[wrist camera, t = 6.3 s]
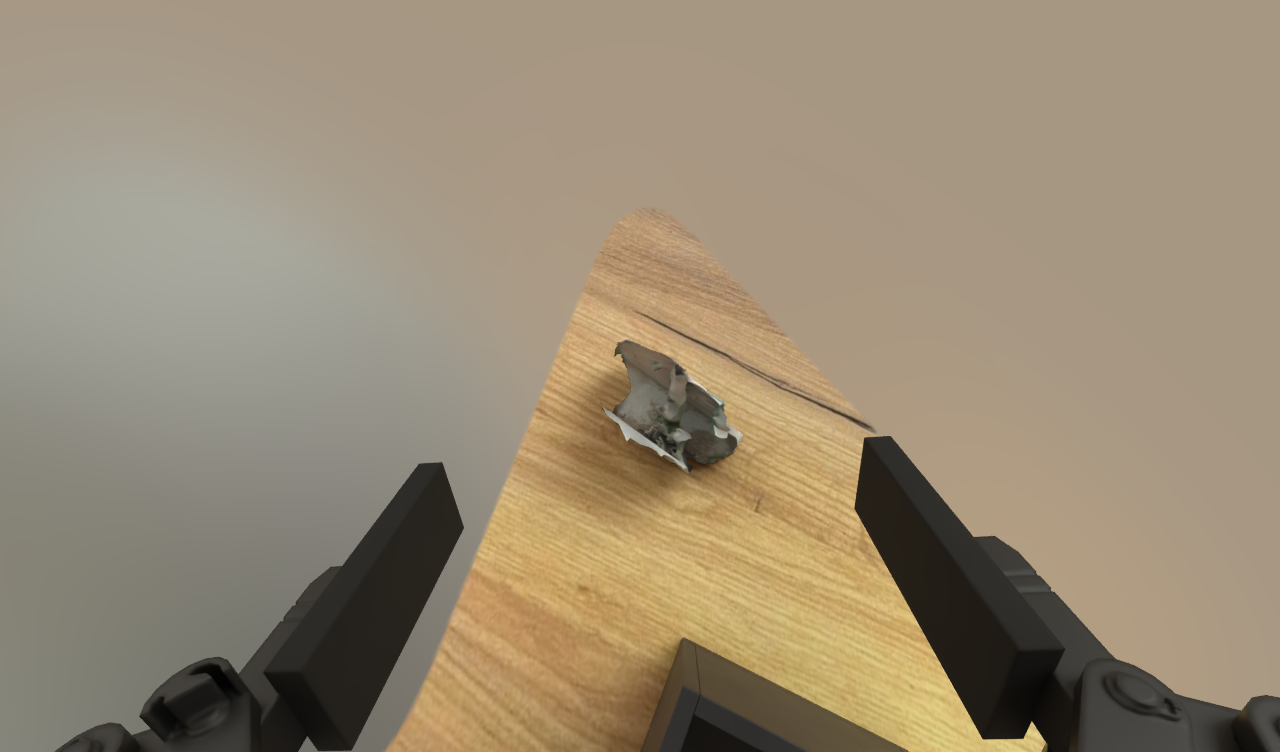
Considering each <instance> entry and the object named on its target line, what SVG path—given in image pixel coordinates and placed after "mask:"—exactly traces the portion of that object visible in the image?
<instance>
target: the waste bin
mask: <svg viewBox="0 0 1280 752" xmlns="http://www.w3.org/2000/svg"><path fill="white" fill-rule="evenodd" d="M641 752H908V751H907V750H906V749H904V748H902V747H900V746H898V745H896V744H894V743H892V742H890V741H888V740H886V739H884V738H882V737H880V736H878V735H876V734H874V733H872V732H870V731H868V730H866V729H864V728H862V727H860V726H858V725H856V724H854V723H852V722H850V721H848V720H846V719H844V718H842V717H840V716H838V715H836V714H834V713H832V712H830V711H828V710H826V709H824V708H822V707H820V706H818V705H817V704H815V703H813V702H811V701H809V700H807V699H805V698H803V697H801V696H799V695H797V694H795V693H793V692H791V691H789V690H787V689H785V688H783V687H781V686H779V685H777V684H775V683H773V682H771V681H769V680H767V679H765V678H763V677H761V676H759V675H757V674H755V673H753V672H751V671H749V670H747V669H745V668H743V667H741V666H739V665H737V664H735V663H733V662H731V661H729V660H727V659H725V658H723V657H721V656H720V655H718V654H716V653H714V652H712V651H710V650H708V649H706V648H704V647H702V646H700V645H698V644H696V643H694V642H692V641H690V640H688V639H686V638H682V641H681V643H680V646H679V649H678V652H677V654H676V657H675V660H674V662H673V665H672V668H671V671H670V673H669V676H668V679H667V681H666V684H665V687H664V690H663V692H662V695H661V698H660V700H659V703H658V706H657V709H656V711H655V714H654V717H653V720H652V722H651V725H650V728H649V730H648V733H647V736H646V739H645V741H644V744H643V747H642V749H641Z"/></svg>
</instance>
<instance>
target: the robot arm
mask: <svg viewBox="0 0 1280 752" xmlns="http://www.w3.org/2000/svg"><path fill="white" fill-rule="evenodd" d="M854 509H855V510H856V512H857V514H858V516H859V518H860V519H861V521H862V523H863V525H864V527H865V528H866V530H867V532H868V534H869V536H870V537H871V539H872V541H873V543H874V545H875V546H876V548H877V550H878V552H879V554H880V555H881V557H882V559H883V561H884V563H885V564H886V566H887V568H888V570H889V572H890V573H891V575H892V577H893V579H894V581H895V582H896V584H897V586H898V588H899V590H900V591H901V593H902V595H903V597H904V599H905V600H906V602H907V604H908V606H909V607H910V609H911V611H912V613H913V615H914V616H915V618H916V620H917V622H918V624H919V625H920V627H921V629H922V631H923V633H924V634H925V636H926V638H927V640H928V642H929V643H930V645H931V647H932V649H933V651H934V652H935V654H936V656H937V658H938V660H939V661H940V663H941V665H942V667H943V669H944V670H945V672H946V674H947V676H948V678H949V679H950V681H951V683H952V685H953V687H954V688H955V690H956V692H957V694H958V696H959V697H960V699H961V701H962V703H963V705H964V706H965V708H966V710H967V712H968V714H969V715H970V717H971V719H972V721H973V722H974V724H975V726H976V728H977V730H978V731H979V733H980V735H981V737H982V739H1023V738H1024V736H1025V734H1026V732H1027V730H1028V728H1029V726H1030V724H1031V721H1032V722H1033V723H1034V725H1035V726H1036V728H1037V729H1038V731H1039V732H1040V734H1041V735H1042V737H1043V739H1044V740H1045V742H1046V744H1045V746H1044V748H1043V750H1042V752H1280V698H1279V697H1273V696H1268V695H1265V696H1258V697H1253V698H1251V699H1250V701H1249V702H1248V703H1247V704H1246V706H1245V707H1244V708H1243V709H1242V711H1240V710H1236V709H1232V708H1228V707H1224V706H1220V705H1216V704H1212V703H1208V702H1204V701H1200V700H1196V699H1192V698H1187V697H1184V696H1181V695H1178V694H1175V693H1174V692H1173V691H1172V690H1171V689H1170V688H1168V687H1167V686H1166V685H1164V684H1163V683H1162V682H1161V681H1159V680H1158V679H1157V678H1156V677H1154V676H1153V675H1151V674H1149V673H1147V672H1145V671H1144V670H1142V669H1140V668H1138V667H1136V666H1134V665H1131V664H1129V663H1126V662H1123V661H1120V660H1117V659H1115V658H1114V657H1113V656H1112V655H1111V654H1110V653H1109V652H1108V651H1107V649H1106V648H1105V647H1104V646H1103V645H1102V644H1101V643H1100V642H1099V641H1098V640H1097V639H1096V637H1095V636H1094V635H1093V634H1092V633H1091V632H1090V631H1089V630H1088V628H1087V627H1086V626H1085V625H1084V624H1083V623H1082V622H1081V621H1080V620H1079V618H1078V617H1077V616H1076V615H1075V614H1074V613H1073V612H1072V611H1071V610H1070V608H1069V607H1068V606H1067V605H1066V604H1065V603H1064V602H1063V601H1062V600H1061V599H1060V598H1059V596H1058V595H1057V594H1056V593H1055V592H1052V591H1051V587H1049V585H1048V584H1047V583H1046V582H1045V581H1044V580H1043V579H1042V578H1041V577H1040V576H1038V575H1037V574H1036V571H1035V570H1034V569H1033V568H1032V567H1031V565H1030V564H1029V563H1028V562H1027V561H1026V560H1025V559H1024V558H1023V557H1022V555H1021V554H1020V553H1019V552H1018V551H1016V550H1015V549H1013V548H1011V547H1010V546H1009V545H1007V544H1006V543H1004V542H1003V541H1001V540H1000V539H998V538H997V537H995V536H988V537H973V536H972V534H971V533H970V532H969V531H968V529H967V528H966V527H965V526H964V525H963V523H962V522H961V521H960V520H959V519H958V517H957V516H956V515H955V514H954V512H953V511H952V510H951V509H950V508H949V506H948V505H947V504H946V503H945V502H944V500H943V499H942V498H941V497H940V495H939V494H938V493H937V492H936V491H935V489H934V488H933V487H932V486H931V485H930V483H929V482H928V481H927V480H926V478H925V477H924V476H923V475H922V474H921V472H920V471H919V470H918V469H917V468H916V466H915V465H914V464H913V463H912V462H911V460H910V459H909V458H908V457H907V455H906V454H905V453H904V452H903V451H902V449H901V448H900V447H899V446H898V444H897V443H896V442H895V441H894V440H893V438H892V437H891V436H883V437H866V438H864V444H863V451H862V458H861V465H860V472H859V480H858V487H857V494H856V501H855V508H854ZM463 529H464V526H463V523H462V520H461V517H460V514H459V511H458V508H457V505H456V502H455V499H454V496H453V493H452V490H451V487H450V484H449V481H448V478H447V475H446V472H445V469H444V466H443V463H442V462H440V463H423V464H419V465H418V466H417V467H416V469H415V470H414V471H413V472H412V474H411V475H410V477H409V478H408V479H407V480H406V482H405V483H404V484H403V486H402V487H401V489H400V490H399V491H398V492H397V494H396V495H395V497H394V498H393V499H392V500H391V502H390V503H389V504H388V506H387V507H386V509H385V510H384V511H383V512H382V514H381V515H380V517H379V518H378V519H377V520H376V522H375V523H374V525H373V526H372V527H371V529H370V530H369V531H368V532H367V534H366V535H365V536H364V538H363V539H362V541H361V542H360V543H359V544H358V546H357V547H356V548H355V550H354V551H353V553H352V554H351V555H350V557H349V558H348V559H347V560H346V562H345V563H344V565H343V566H337V567H330V568H329V569H328V570H326V571H325V572H324V573H323V574H322V575H320V576H319V577H318V578H317V579H315V580H314V581H313V582H312V583H311V584H310V585H309V586H308V587H307V589H306V590H305V591H304V592H303V594H302V595H301V596H300V597H299V599H298V600H297V601H296V605H295V606H292V607H291V609H290V610H289V611H288V612H287V614H286V615H285V616H284V620H283V621H282V622H280V623H279V624H278V625H277V626H276V628H275V629H274V630H273V631H272V633H271V634H270V635H269V636H268V638H267V639H266V640H265V642H264V643H263V644H262V645H261V647H260V648H259V649H258V650H257V652H256V653H255V654H254V656H253V657H252V658H251V659H250V660H249V662H248V663H247V664H246V666H245V667H244V668H243V669H242V671H241V672H240V673H239V674H238V673H237V672H236V671H235V669H234V668H233V667H232V665H231V664H230V663H229V661H228V660H226V659H224V658H221V657H213V658H207V659H204V660H201V661H198V662H196V663H194V664H191V665H189V666H187V667H186V668H184V669H182V670H181V671H179V672H178V673H176V674H175V675H173V676H172V677H170V678H169V679H168V680H167V681H166V682H165V683H164V684H162V685H161V686H160V687H159V688H158V689H157V690H156V691H155V692H154V693H153V694H152V696H151V697H150V698H149V699H148V701H147V702H146V703H145V705H144V707H143V709H142V711H141V714H140V718H141V719H143V721H144V722H145V723H146V724H147V725H148V726H149V727H150V728H151V729H149V730H146V731H143V732H140V733H137V734H134V735H131V734H130V733H129V732H128V731H127V730H126V729H125V728H124V727H123V726H122V725H121V724H116V723H107V724H103V725H99V726H96V727H93V728H91V729H89V730H87V731H86V732H83V733H81V734H79V735H77V736H76V737H74V738H73V739H71V740H70V741H69V742H67V743H66V744H64V745H63V746H62V747H60V748H59V749H57V750H56V751H55V752H298V751H299V749H300V747H301V746H302V744H303V742H304V741H305V739H306V737H307V736H308V737H309V739H310V740H311V742H312V743H313V744H314V746H315V747H316V748H317V750H318V751H344V750H345V751H348V750H349V751H351V750H352V749H353V747H354V745H355V743H356V741H357V739H358V737H359V735H360V733H361V731H362V729H363V727H364V725H365V723H366V721H367V719H368V717H369V715H370V713H371V711H372V709H373V707H374V705H375V703H376V701H377V699H378V697H379V695H380V693H381V691H382V689H383V687H384V685H385V683H386V681H387V679H388V677H389V675H390V673H391V671H392V670H393V667H394V666H395V663H396V661H397V660H398V657H399V656H400V654H401V652H402V650H403V648H404V646H405V644H406V642H407V640H408V638H409V636H410V634H411V632H412V630H413V628H414V626H415V624H416V622H417V620H418V618H419V616H420V614H421V612H422V610H423V608H424V606H425V604H426V602H427V600H428V598H429V596H430V594H431V592H432V590H433V588H434V586H435V584H436V582H437V580H438V578H439V576H440V574H441V572H442V570H443V569H444V566H445V564H446V563H447V561H448V559H449V556H450V555H451V552H452V551H453V549H454V547H455V544H456V543H457V541H458V539H459V537H460V535H461V533H462V531H463Z"/></svg>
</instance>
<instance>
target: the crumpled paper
mask: <svg viewBox="0 0 1280 752" xmlns="http://www.w3.org/2000/svg"><path fill="white" fill-rule="evenodd" d="M617 345H618V346H617V347H616V349H615V355H614V357H615V356H616V355H617V354H622V355H621V356H622V358H623V361H622V362H623V363H624V364H625V366H626V368H627V371H628V376H629V380H630V385H631V391H630V393H629V395H628V396H627V397H626V398H625V400H624V401H623V402H622V403H621V404H619V405H616V407H615V408H614V410H613V413H612V412H611V411H610V410H608V409H605V408H604V407H603V408H602V409H603V410H604V411H605V412H606V414H607V415H608V416H609V417H610V418H611V419H612V420H614V421H615V422H616V423H617V425H619V427H621V430H622V432H623V434H624V436H625V439H626V441H628V440H629V439H630V438H632V439H633V440H634V441H636V442H637V443H639V444H641V445H644V446H647V447H650V448H652V449H654V450H655V451H656V452H657V453H658V454H659V455H660V456H663V457H665V458H666V459H667V460H669V461H670V462H671V463H675V464H677V465H678V466H679V467H680V468H681V469H682V470H683V471H684V472H685V473H687V474H689V473H690V472H691V470H692V466H690V465H689V464H688V462H687V461H686V458H687V457H689V458H693V459H695V460H696V461H697V462H698V463H702V464H706V463H708V462H709V463H711V464H713V463H715V462H716V461H718V460H720V459H723V458H725V457H728V456H729V455H731V454H732V453H734V451H735V449H736V448H737V446H738V445H739V444H740V442H741V440H742V437H743V434H742V433H741V432H739V431H738V430H737V429H735V428H734V427H732V426H731V425H730V424H728V423H727V422H726V419H727V417H726V415H725V414H724V410H725V409H724V405H725V404H724V402H723V401H722V400H720V399H719V398H717V397H716V396H714V395H713V394H711V393H710V392H708V391H707V390H706V389H705V388H704V387H703V386H701V385H700V384H699V383H697V382H696V381H694V380H693V378H691V377H690V376H689V375H688V374H687V373H686V372H685V371H686V369H683V368H682V367H681V366H679V364H677V363H676V362H675V361H674V360H673V359H671V358H669V357H668V356H666V355H664V354H661V353H658V352H656V351H653V350H650V349H648V348H646V347H644V346H642V345H640V344H638V343H636V342H633V341H631V340H630V339H629V340H625V341H622V342H618V344H617ZM599 398H600V397H599ZM600 401H601V400H600ZM601 404H602V403H601ZM602 406H603V405H602Z"/></svg>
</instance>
